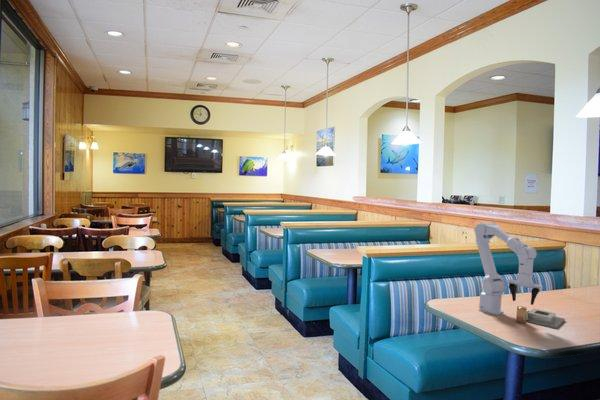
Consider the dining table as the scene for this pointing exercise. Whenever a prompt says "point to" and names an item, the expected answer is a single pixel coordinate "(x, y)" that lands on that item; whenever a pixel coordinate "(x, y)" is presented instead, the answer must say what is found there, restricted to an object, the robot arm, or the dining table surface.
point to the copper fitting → (521, 315)
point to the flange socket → (544, 318)
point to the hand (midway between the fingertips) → (523, 302)
